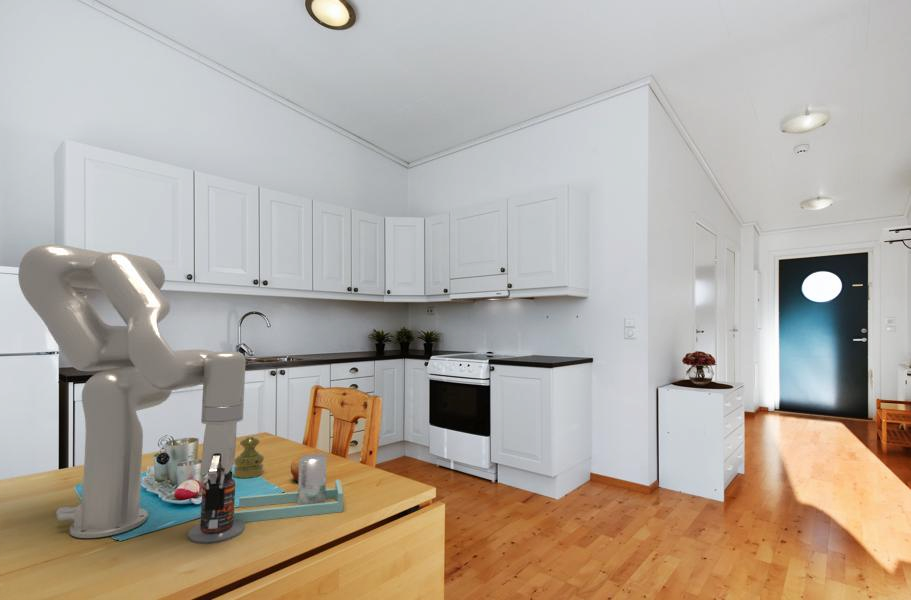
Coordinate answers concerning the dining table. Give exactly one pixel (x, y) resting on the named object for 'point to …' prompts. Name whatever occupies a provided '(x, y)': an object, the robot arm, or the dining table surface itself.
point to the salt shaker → (248, 460)
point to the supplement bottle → (219, 518)
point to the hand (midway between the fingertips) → (218, 500)
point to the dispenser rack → (288, 510)
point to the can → (312, 479)
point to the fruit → (297, 466)
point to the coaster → (203, 537)
